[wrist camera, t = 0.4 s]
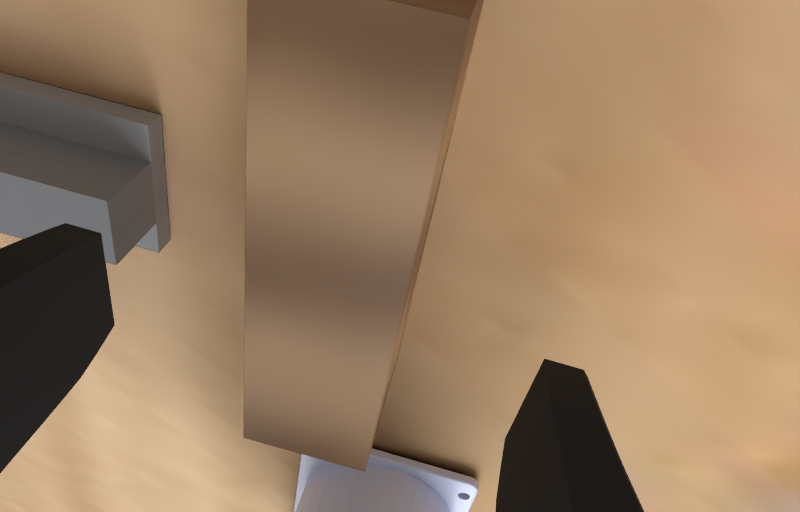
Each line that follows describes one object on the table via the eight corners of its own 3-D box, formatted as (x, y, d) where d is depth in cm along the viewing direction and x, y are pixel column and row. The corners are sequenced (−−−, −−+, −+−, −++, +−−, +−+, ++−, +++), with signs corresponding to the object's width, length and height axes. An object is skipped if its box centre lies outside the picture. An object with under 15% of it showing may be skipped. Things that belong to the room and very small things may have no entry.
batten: (399, 348, 23) (364, 471, 19) (300, 322, 23) (243, 437, 19) (494, -43, 15) (469, 19, 10) (336, -79, 15) (247, -33, 11)
